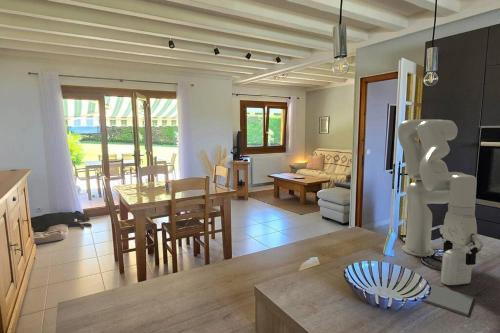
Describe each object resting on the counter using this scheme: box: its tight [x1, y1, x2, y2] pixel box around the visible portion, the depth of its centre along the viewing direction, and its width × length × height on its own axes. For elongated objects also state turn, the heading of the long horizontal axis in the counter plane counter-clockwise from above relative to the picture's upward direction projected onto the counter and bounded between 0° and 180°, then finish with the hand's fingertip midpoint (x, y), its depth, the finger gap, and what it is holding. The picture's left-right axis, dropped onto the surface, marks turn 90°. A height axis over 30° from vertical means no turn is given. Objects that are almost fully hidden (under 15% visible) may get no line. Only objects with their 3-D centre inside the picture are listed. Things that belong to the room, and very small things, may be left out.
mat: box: [423, 284, 474, 317], centre depth 95 cm, size 12×12×1 cm
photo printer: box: [440, 247, 473, 286], centre depth 106 cm, size 10×4×12 cm, turn 103°
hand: (458, 258), depth 105 cm, fingers open, 9 cm apart
